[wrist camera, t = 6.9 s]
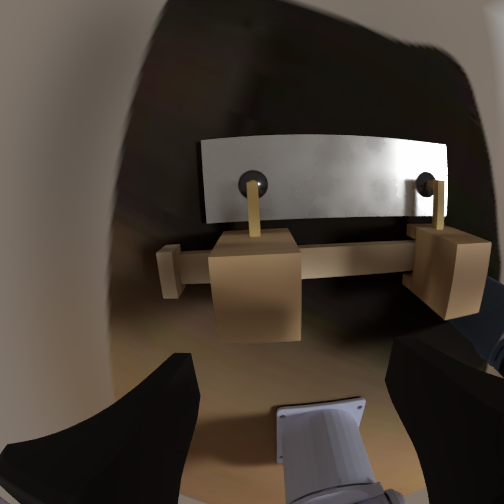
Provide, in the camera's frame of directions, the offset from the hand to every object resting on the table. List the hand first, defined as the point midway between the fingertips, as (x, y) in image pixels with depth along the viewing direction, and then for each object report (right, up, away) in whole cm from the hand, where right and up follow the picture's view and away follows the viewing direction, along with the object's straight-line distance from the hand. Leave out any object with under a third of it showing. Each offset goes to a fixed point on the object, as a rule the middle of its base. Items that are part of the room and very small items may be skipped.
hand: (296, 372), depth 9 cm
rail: (+4, +4, +9) cm, 11 cm away
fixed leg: (+11, +6, +9) cm, 15 cm away
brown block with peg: (-1, +5, +9) cm, 10 cm away
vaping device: (+16, 0, +10) cm, 19 cm away
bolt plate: (+4, +9, +8) cm, 13 cm away
